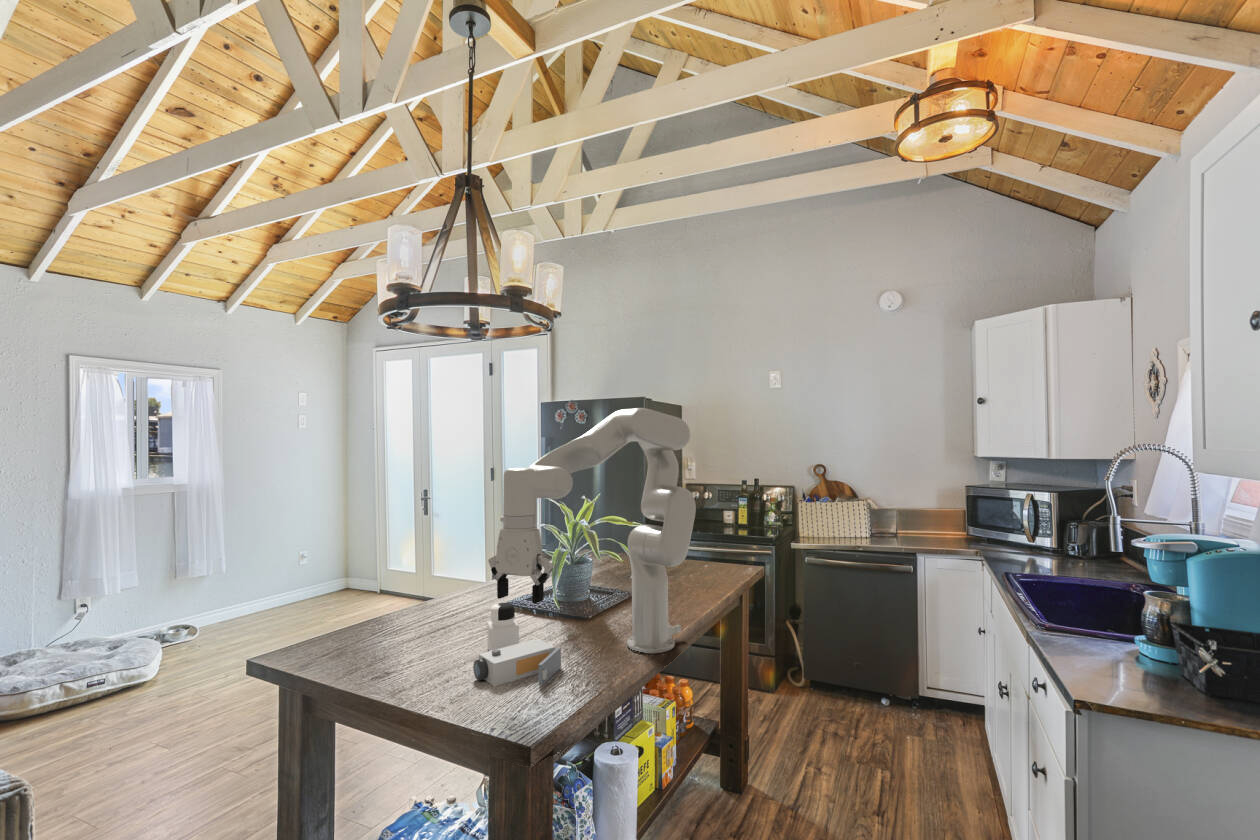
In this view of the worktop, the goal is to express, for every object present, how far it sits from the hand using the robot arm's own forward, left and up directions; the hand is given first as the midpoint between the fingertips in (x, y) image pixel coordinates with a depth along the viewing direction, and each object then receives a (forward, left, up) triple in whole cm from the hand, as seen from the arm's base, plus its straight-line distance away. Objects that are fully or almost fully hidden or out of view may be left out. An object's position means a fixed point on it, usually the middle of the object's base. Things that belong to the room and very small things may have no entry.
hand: (520, 599), depth 132 cm
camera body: (-3, -7, -19) cm, 21 cm away
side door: (-8, +1, -19) cm, 20 cm away
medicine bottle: (-7, -22, -19) cm, 31 cm away
